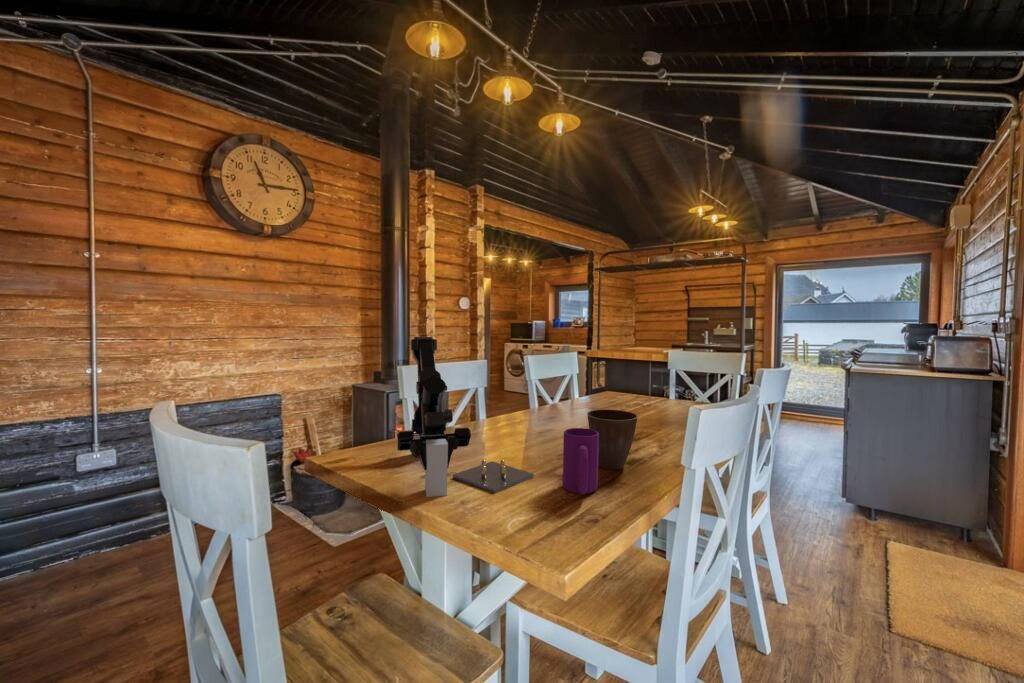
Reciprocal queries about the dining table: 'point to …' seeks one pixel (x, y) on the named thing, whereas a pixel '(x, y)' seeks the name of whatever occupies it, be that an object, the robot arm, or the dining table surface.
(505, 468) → the plate
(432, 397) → the robot arm
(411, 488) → the dining table surface
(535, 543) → the dining table surface
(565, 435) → the mug
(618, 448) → the plant pot
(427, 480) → the block
